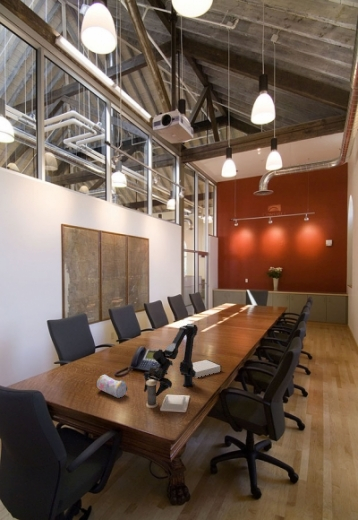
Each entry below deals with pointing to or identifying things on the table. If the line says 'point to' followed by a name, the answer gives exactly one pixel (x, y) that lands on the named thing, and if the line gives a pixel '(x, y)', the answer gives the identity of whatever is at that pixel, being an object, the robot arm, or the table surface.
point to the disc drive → (205, 368)
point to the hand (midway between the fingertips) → (150, 393)
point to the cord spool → (151, 393)
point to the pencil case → (112, 386)
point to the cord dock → (175, 403)
